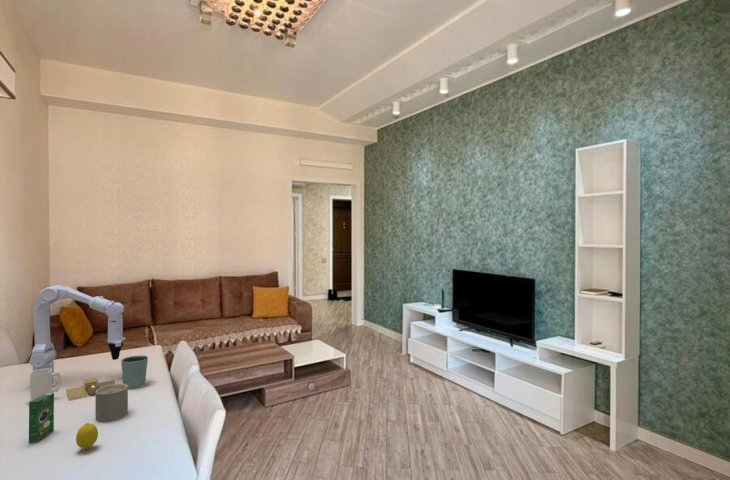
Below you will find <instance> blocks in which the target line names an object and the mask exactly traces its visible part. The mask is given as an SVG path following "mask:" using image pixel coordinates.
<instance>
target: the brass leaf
mask: <svg viewBox="0 0 730 480" xmlns="http://www.w3.org/2000/svg"><path fill="white" fill-rule="evenodd" d="M82 381H83V382H82V383H83V385H82V386H77V387H72V388H65V393H66V395H67V398H68V401H75V400H79V399H83V398H87V397H88V393H89V392H88V390H87V386H88V385H89V384H90V383H96V384H97V386H98V383H99V380H98V378H97V377H92V378H91V377H90V378H86V379H83V380H82Z"/></svg>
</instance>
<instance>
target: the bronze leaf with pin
mask: <svg viewBox="0 0 730 480" xmlns="http://www.w3.org/2000/svg"><path fill="white" fill-rule="evenodd" d="M112 384H116V382H115V381H114V380H113V379H112V380H107V381H101V382H98V386H97V384H96V383H90V384H88V386H87V390H88V392H87V393H88V394H89V395H90V396H95V392H96V390H97V389H99V388H101V387H104V386H107V385H112Z"/></svg>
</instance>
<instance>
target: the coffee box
mask: <svg viewBox="0 0 730 480" xmlns="http://www.w3.org/2000/svg"><path fill="white" fill-rule="evenodd" d="M54 414H55V392H53V393H45V394H43V395H42V396H40V397H38V398H36V399H34V400H32V401H31V400H30V401H29V402H28V443H29V444H34V443H38V442H39V441H41V440H42V439H44V438H45V437H46V436H48V435H50V434H51V433H52V432H53V431H55V430H54V429H55V415H54Z"/></svg>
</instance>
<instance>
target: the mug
mask: <svg viewBox="0 0 730 480" xmlns="http://www.w3.org/2000/svg"><path fill="white" fill-rule="evenodd" d="M53 376H54V377H57V378H58V384H57V386H55V387H53V386H52V377H53ZM29 381H30V383H29V384H30V385H29V386H30V401H32V400H34V399H36V398H38V397H40V396H42V395H43V394H45V393H57V392H59V390H60V388H61V386H62V383H63V377H62V375H61V373H60V371H54V373H52V369H49V368H46V369H39V370H35V371H33V370H32V371H30V372H29Z"/></svg>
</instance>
